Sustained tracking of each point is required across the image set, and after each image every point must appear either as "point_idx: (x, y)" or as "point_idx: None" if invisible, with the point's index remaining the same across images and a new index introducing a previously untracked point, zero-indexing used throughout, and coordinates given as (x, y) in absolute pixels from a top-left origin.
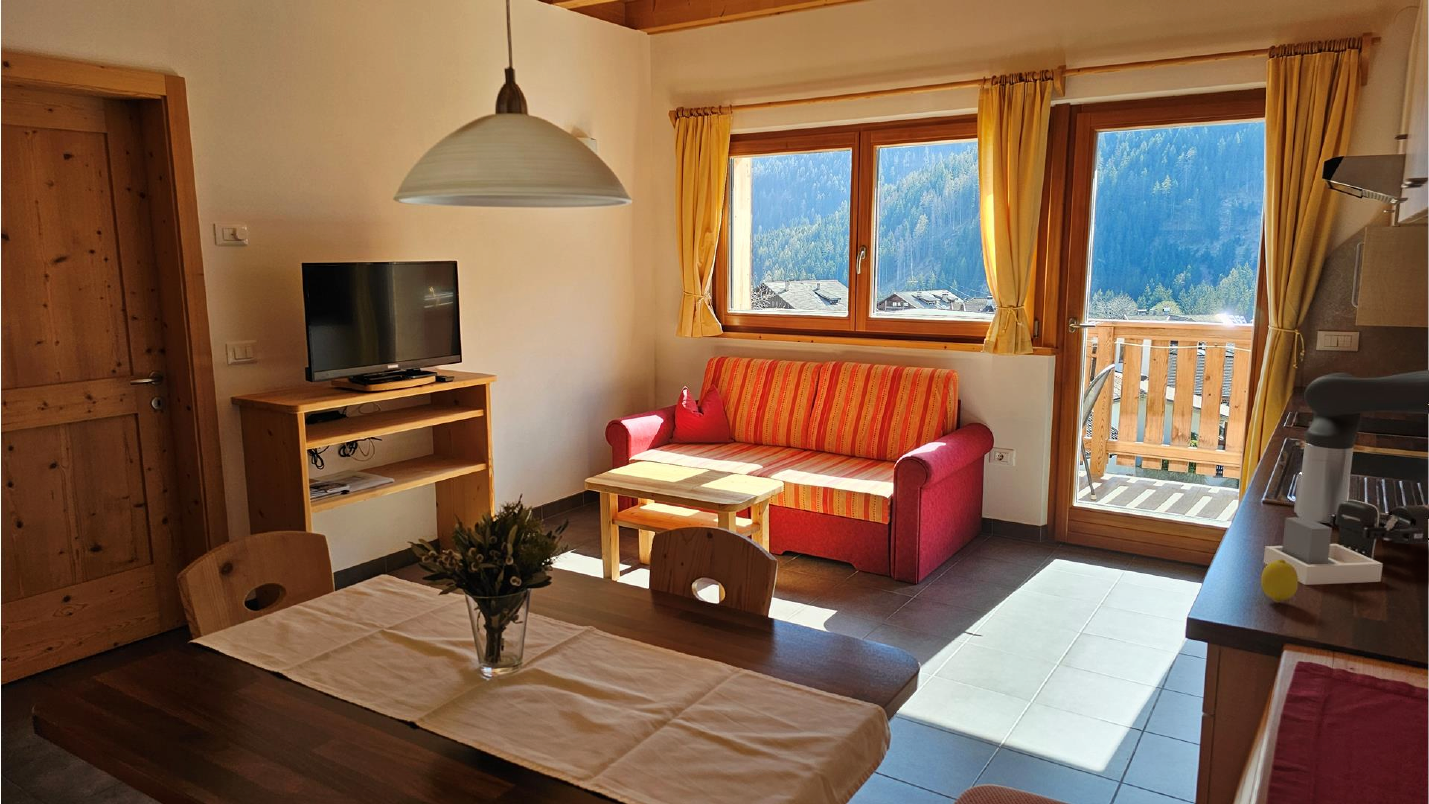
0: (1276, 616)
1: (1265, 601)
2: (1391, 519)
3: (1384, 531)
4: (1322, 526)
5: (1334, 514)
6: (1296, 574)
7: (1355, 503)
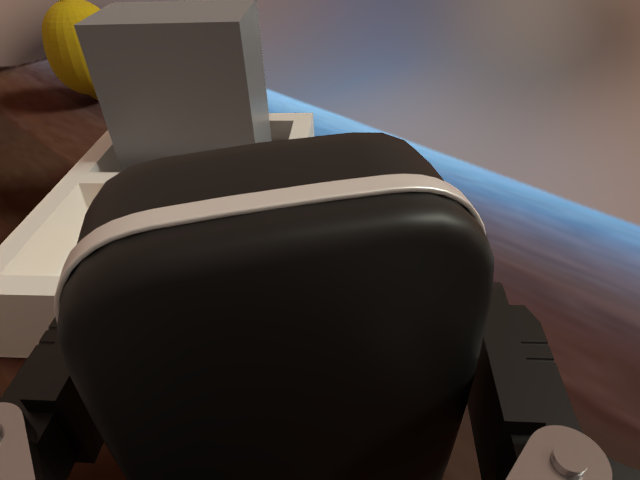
0: (61, 82)
1: None
2: None
3: (7, 396)
4: (110, 18)
5: (501, 294)
6: (42, 31)
7: (269, 145)
